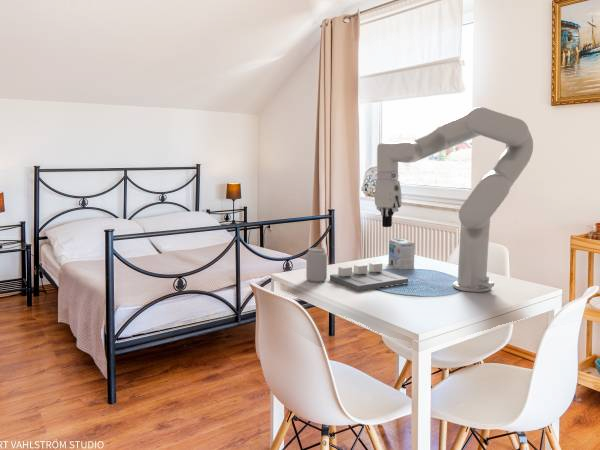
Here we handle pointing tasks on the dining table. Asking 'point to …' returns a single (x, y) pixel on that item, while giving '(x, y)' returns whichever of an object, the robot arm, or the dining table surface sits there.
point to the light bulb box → (401, 253)
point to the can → (316, 265)
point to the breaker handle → (360, 269)
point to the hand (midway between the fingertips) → (387, 226)
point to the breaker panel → (367, 278)
